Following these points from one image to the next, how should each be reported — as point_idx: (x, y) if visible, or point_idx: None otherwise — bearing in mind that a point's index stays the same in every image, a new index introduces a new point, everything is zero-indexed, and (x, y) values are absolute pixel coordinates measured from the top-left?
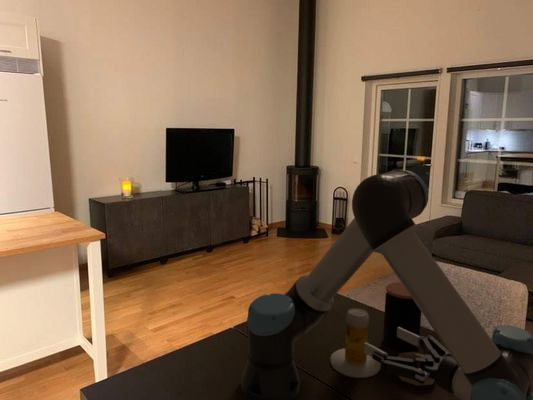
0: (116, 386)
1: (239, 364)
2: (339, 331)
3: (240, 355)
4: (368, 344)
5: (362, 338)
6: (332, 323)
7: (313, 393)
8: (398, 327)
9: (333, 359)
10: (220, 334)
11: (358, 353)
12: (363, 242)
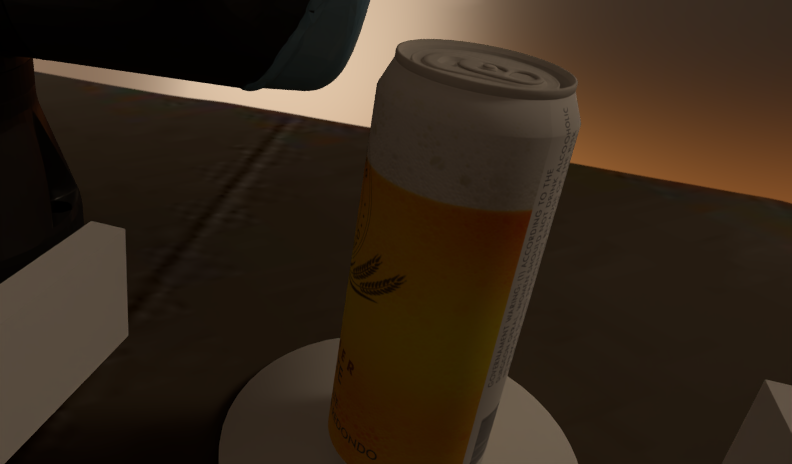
0: None
1: (66, 157)
2: (610, 308)
3: (131, 148)
4: (70, 246)
5: (400, 287)
6: (634, 274)
7: None
8: (782, 387)
9: (325, 353)
10: (228, 104)
11: (358, 388)
12: None
